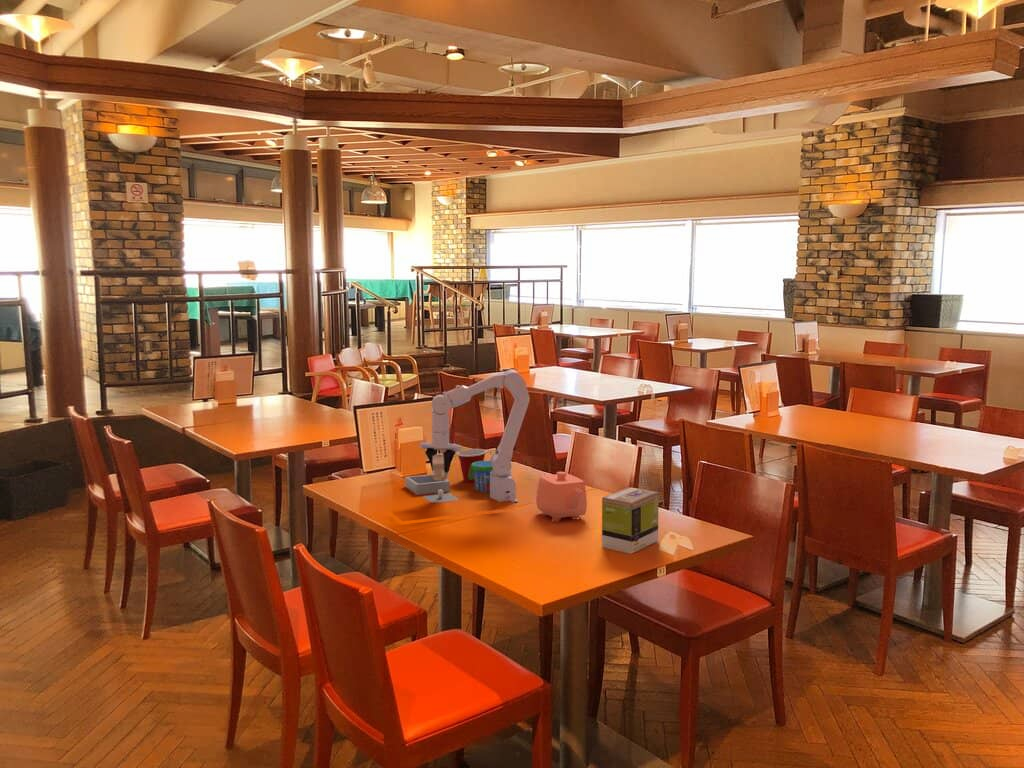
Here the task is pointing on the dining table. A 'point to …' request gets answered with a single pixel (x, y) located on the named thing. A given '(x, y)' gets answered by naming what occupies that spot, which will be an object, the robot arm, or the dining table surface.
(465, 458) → the plastic cup
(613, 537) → the tea box
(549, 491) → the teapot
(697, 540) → the dining table surface
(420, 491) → the bin
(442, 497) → the stud block
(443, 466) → the strut
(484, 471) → the snack cup
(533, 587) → the dining table surface
